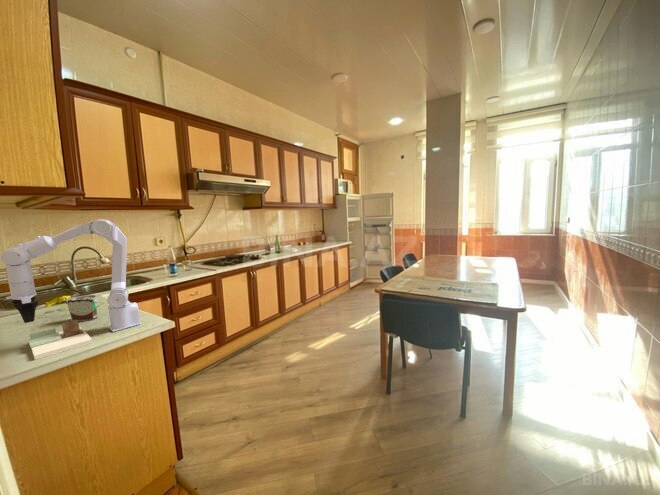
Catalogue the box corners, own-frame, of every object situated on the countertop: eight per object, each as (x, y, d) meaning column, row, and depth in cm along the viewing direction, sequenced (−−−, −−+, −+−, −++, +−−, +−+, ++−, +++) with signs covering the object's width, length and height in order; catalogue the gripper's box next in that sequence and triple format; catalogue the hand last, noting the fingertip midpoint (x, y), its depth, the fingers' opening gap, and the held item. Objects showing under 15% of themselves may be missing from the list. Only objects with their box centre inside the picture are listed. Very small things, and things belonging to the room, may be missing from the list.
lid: (58, 334, 101) (57, 327, 101) (61, 339, 96) (60, 332, 96) (28, 341, 95) (27, 334, 95) (30, 347, 90) (29, 340, 90)
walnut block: (78, 334, 104) (76, 319, 103) (80, 336, 102) (78, 321, 101) (64, 338, 101) (61, 323, 100) (66, 341, 98) (63, 325, 98)
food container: (107, 314, 125) (104, 294, 124) (96, 319, 119) (93, 298, 118) (80, 316, 125) (77, 295, 124) (68, 321, 119) (65, 299, 118)
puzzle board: (81, 329, 108) (80, 326, 108) (92, 342, 96) (91, 339, 96) (29, 343, 97) (28, 339, 97) (34, 360, 85) (34, 355, 85)
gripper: (2, 282, 94) (9, 319, 96) (4, 287, 85) (12, 328, 87) (32, 278, 100) (38, 313, 101) (37, 282, 91) (43, 321, 92)
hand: (28, 319), depth 94 cm, fingers open, 7 cm apart
